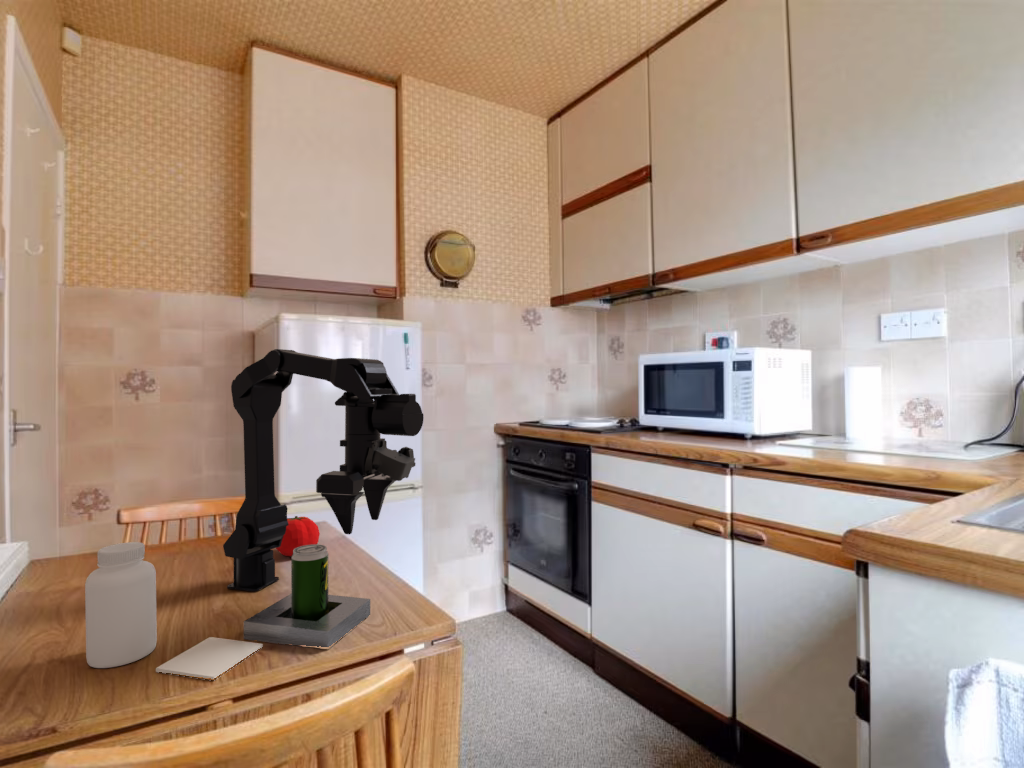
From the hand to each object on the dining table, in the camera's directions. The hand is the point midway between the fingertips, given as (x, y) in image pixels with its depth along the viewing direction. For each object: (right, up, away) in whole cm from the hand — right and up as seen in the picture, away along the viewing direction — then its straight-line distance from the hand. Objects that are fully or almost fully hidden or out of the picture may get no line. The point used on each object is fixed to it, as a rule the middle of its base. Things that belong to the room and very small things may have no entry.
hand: (362, 526), depth 90 cm
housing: (-6, -14, -7) cm, 16 cm away
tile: (-16, -14, -17) cm, 27 cm away
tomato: (-23, -14, +29) cm, 40 cm away
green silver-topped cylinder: (-6, -14, -7) cm, 17 cm away
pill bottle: (-29, -14, -16) cm, 36 cm away
